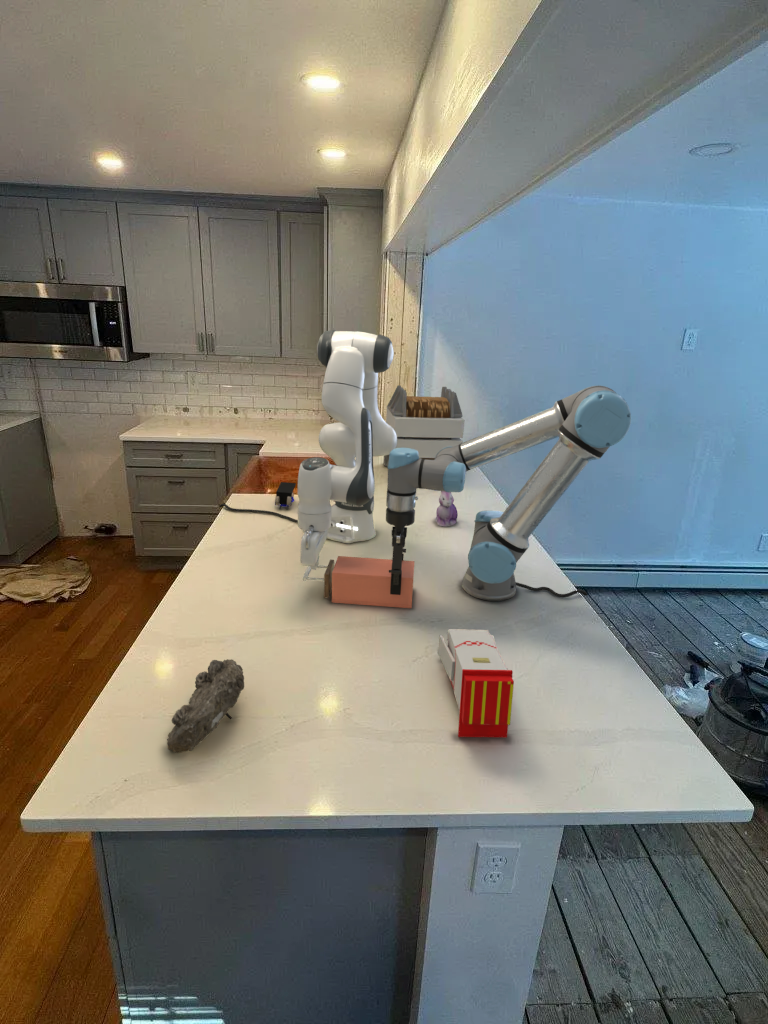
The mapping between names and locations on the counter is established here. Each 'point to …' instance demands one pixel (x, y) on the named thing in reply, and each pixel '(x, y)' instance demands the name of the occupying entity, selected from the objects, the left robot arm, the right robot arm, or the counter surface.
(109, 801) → the counter surface
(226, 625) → the counter surface
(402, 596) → the tall pink open box
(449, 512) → the figurine
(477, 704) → the toy
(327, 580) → the drawer
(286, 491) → the figurine character
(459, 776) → the counter surface
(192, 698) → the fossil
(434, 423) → the transformer
